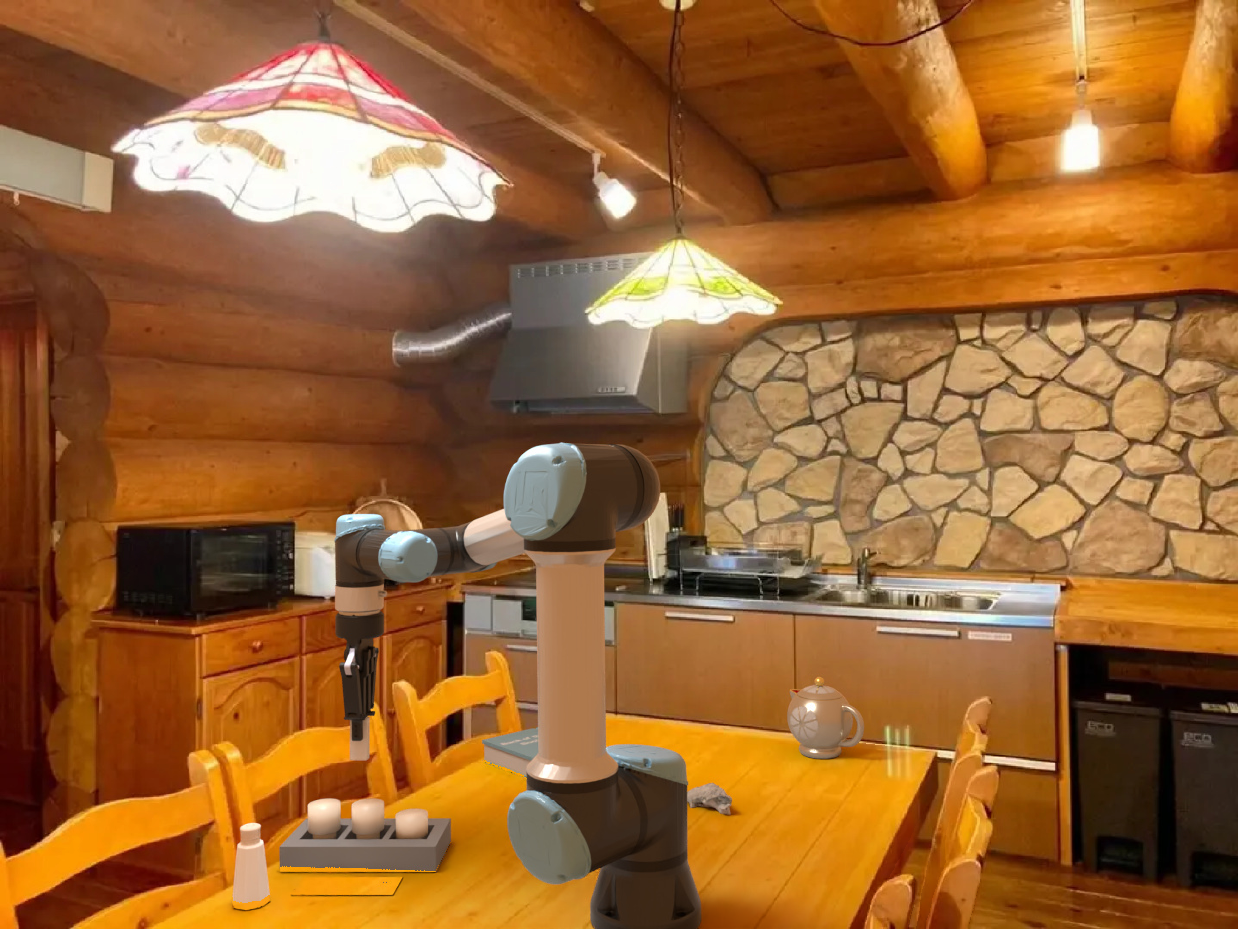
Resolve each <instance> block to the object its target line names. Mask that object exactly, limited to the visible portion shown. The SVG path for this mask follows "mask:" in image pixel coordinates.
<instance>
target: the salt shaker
mask: <svg viewBox="0 0 1238 929" xmlns="http://www.w3.org/2000/svg"><path fill="white" fill-rule="evenodd" d="M261 828H262V825H261V824H260V823H257V822H248V823H246V824H242V825H241V826H240V827H239V831H240V842H239V843H237V846H236V853H235V855H236V856H235V865H234V866H235V867H234V876H233V888H232V897H233V901H236V902H239V903H240V902H242V903H248V902H252V901H261V900H262V899H264V898H265V897H267V896H268V895H270V885H269V884H270V883H269V877H268V868H267V867H268V866H267V860H266V859H267V858H266V850H265V843H264V840H263V839H261ZM270 896H271V895H270Z"/></svg>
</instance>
